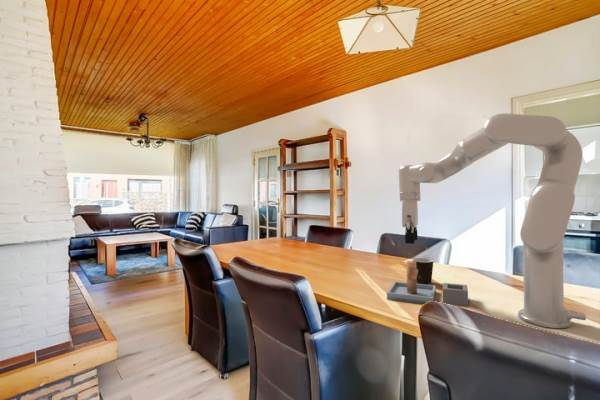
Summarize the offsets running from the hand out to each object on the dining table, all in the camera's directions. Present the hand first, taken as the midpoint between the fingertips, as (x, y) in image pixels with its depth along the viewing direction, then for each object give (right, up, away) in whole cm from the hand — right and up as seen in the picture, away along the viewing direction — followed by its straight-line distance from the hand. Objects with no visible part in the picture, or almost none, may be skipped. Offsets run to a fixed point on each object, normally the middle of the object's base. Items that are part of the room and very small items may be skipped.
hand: (411, 241), depth 119 cm
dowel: (0, -20, 0) cm, 20 cm away
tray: (0, -21, 0) cm, 21 cm away
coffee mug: (+12, -21, +18) cm, 30 cm away
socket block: (+14, -21, -6) cm, 26 cm away
